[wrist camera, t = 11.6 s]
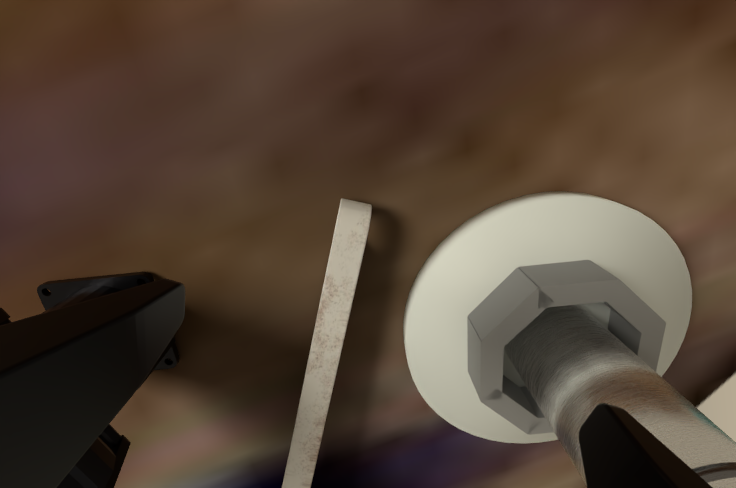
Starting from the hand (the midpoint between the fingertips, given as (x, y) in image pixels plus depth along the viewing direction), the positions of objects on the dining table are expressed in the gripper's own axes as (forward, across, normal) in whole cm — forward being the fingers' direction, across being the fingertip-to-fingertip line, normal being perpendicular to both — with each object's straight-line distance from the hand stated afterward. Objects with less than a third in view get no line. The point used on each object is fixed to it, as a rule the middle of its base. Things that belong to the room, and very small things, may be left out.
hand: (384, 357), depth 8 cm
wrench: (+12, +2, +16) cm, 20 cm away
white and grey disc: (+14, -10, +7) cm, 19 cm away
